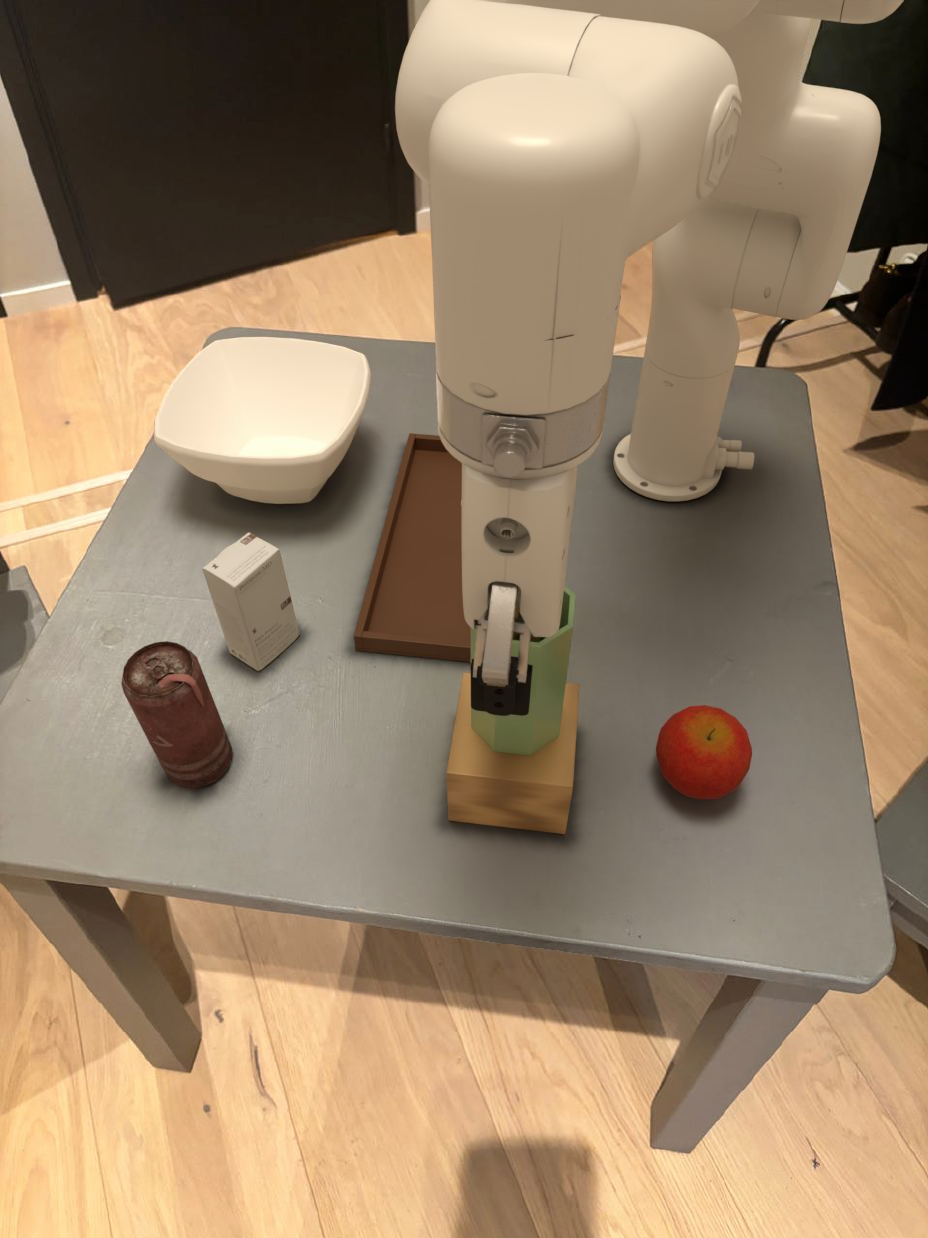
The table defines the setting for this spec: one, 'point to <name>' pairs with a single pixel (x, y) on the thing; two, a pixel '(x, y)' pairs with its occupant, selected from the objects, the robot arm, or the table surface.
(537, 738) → the green cup
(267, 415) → the bowl
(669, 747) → the apple
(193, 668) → the can
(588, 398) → the robot arm
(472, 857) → the table surface
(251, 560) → the cosmetic box
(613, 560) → the table surface
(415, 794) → the table surface
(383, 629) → the tray
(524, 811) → the block
